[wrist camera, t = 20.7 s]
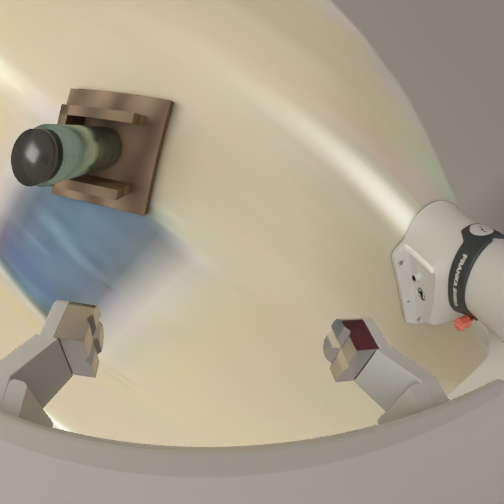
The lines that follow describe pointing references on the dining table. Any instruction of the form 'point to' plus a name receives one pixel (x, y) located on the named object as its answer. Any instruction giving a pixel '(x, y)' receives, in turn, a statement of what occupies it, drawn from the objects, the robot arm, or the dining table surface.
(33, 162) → the flask
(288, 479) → the robot arm
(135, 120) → the u rest
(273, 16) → the dining table surface
